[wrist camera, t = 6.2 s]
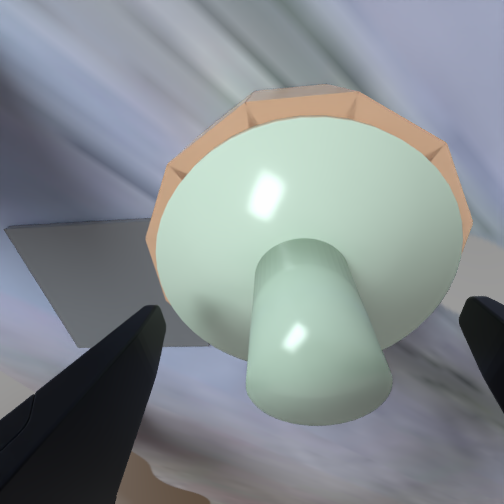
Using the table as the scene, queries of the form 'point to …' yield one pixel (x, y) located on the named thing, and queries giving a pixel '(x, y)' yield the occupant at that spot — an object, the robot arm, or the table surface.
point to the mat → (97, 276)
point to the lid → (310, 259)
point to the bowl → (305, 103)
